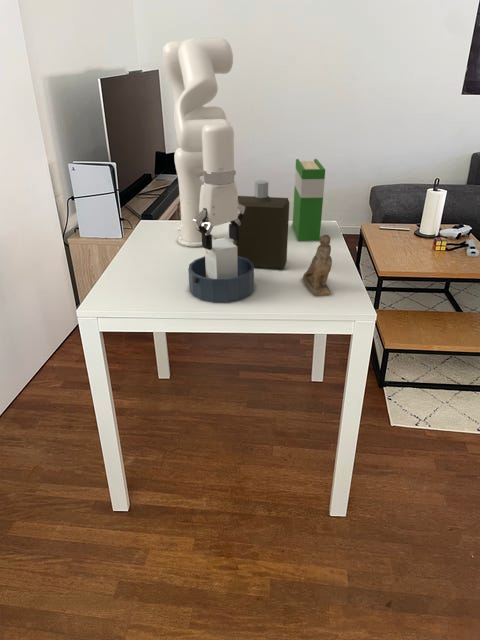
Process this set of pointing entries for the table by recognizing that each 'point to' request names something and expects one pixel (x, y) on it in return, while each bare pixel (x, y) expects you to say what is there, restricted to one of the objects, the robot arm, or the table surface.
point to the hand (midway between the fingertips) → (221, 243)
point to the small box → (221, 260)
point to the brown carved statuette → (319, 269)
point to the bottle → (264, 228)
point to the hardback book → (308, 199)
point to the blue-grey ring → (221, 282)
